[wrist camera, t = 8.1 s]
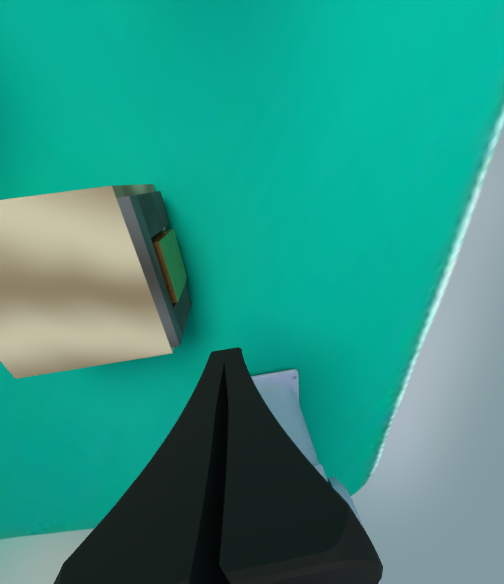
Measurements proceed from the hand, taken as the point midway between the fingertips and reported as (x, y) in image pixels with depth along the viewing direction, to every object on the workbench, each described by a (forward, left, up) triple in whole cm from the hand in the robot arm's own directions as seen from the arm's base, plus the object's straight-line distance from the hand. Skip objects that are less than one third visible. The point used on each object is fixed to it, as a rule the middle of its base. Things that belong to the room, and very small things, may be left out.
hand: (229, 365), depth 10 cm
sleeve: (+3, +9, -10) cm, 14 cm away
